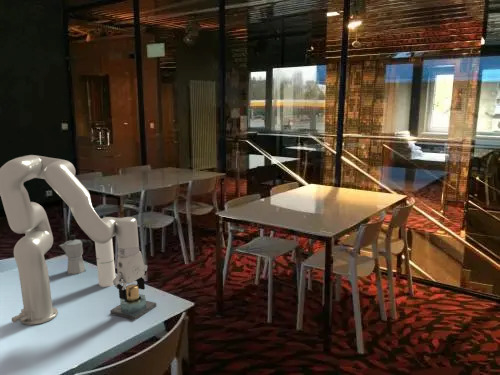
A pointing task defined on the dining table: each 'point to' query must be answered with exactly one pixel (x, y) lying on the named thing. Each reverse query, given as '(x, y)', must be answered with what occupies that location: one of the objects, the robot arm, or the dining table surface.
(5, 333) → the dining table surface
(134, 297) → the gold round-topped cylinder
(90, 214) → the robot arm
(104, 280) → the cylindrical container
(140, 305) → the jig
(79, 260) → the coffee maker
